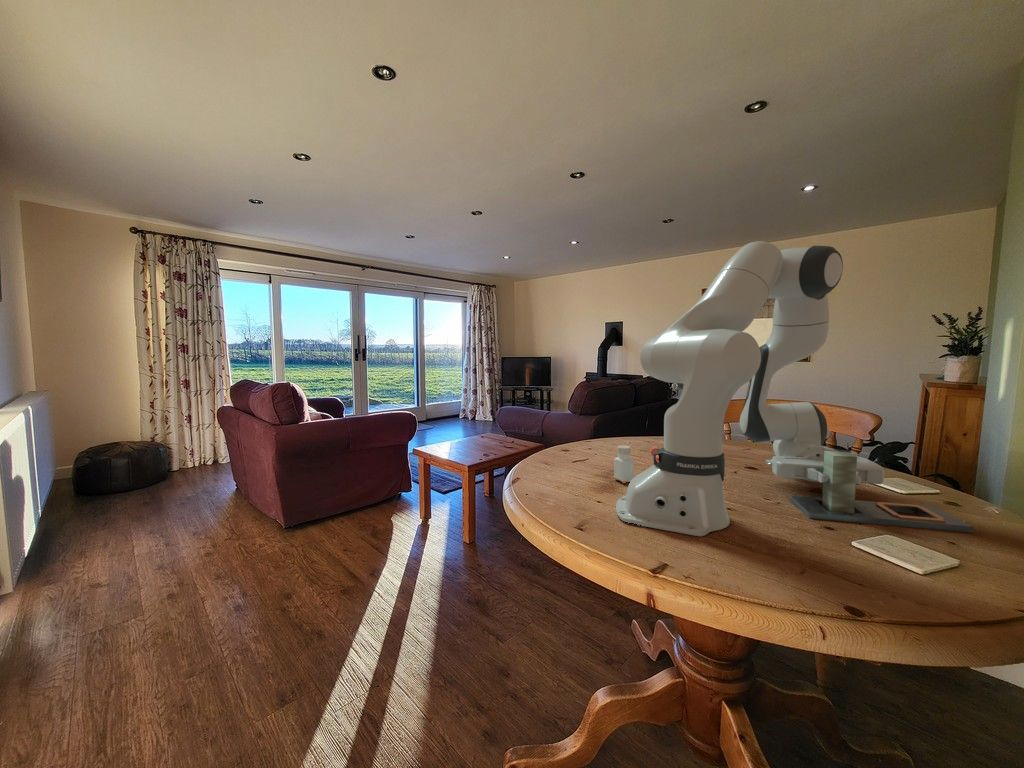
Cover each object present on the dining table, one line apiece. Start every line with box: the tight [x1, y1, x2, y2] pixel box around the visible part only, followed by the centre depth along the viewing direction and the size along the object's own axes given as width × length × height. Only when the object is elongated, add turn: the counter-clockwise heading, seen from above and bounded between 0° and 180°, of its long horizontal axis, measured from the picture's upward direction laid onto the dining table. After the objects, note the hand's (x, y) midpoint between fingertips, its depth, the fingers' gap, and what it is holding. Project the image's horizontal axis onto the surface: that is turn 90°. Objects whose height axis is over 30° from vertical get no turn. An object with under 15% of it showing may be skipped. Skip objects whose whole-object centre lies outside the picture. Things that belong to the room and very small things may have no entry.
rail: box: [789, 495, 975, 534], centre depth 81 cm, size 26×10×2 cm, turn 73°
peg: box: [821, 451, 857, 513], centre depth 82 cm, size 4×4×12 cm
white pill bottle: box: [613, 444, 635, 481], centre depth 105 cm, size 4×4×10 cm
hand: (841, 480), depth 82 cm, fingers closed on peg, 4 cm apart
